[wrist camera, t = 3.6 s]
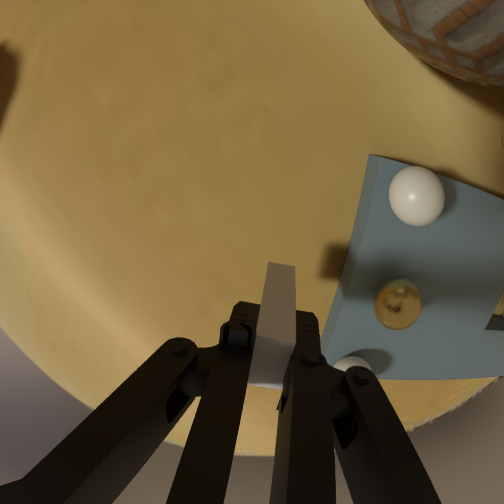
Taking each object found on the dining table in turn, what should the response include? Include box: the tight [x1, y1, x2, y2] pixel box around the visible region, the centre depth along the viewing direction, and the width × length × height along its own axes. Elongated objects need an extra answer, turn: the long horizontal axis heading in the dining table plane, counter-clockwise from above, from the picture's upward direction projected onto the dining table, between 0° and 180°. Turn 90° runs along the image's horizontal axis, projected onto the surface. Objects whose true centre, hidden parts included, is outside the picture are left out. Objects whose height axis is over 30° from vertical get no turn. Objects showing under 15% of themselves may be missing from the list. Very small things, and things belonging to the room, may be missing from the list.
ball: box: [373, 278, 423, 331], centre depth 16 cm, size 3×3×3 cm
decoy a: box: [389, 166, 445, 226], centre depth 13 cm, size 3×3×3 cm
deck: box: [320, 154, 504, 380], centre depth 18 cm, size 16×22×2 cm
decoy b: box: [333, 356, 372, 372], centre depth 18 cm, size 3×3×3 cm
